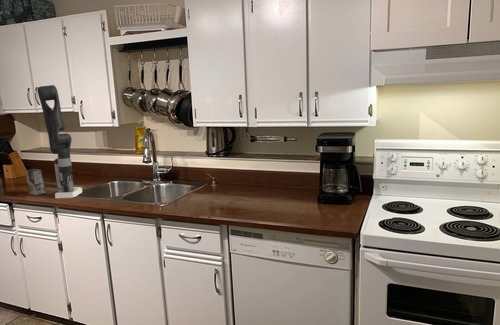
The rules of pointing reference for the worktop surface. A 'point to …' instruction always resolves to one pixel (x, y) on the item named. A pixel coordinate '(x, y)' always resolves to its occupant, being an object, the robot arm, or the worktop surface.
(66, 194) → the socket plate
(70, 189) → the plug
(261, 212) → the worktop surface
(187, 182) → the worktop surface
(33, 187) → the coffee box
